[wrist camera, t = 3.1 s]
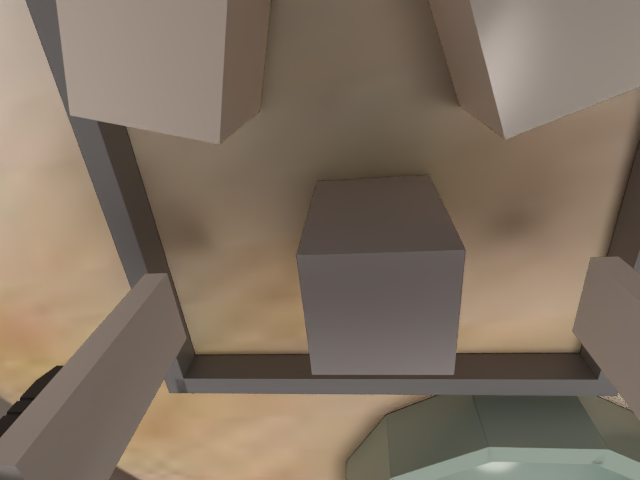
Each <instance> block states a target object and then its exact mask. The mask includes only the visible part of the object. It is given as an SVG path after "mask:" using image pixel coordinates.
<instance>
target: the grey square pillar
mask: <svg viewBox="0 0 640 480" xmlns="http://www.w3.org/2000/svg"><path fill="white" fill-rule="evenodd" d="M465 251H466V250H465V247H464V245H463V243H462V241H461V239H460V237H459V235H458V233H457V231H456V229H455V227H454V225H453V223H452V221H451V219H450V217H449V215H448V213H447V211H446V209H445V206H444V204H443V202H442V200H441V198H440V196H439V194H438V192H437V190H436V188H435V186H434V184H433V182H432V180H431V178H430V176H429V175H417V176H399V177H381V178H363V179H345V180H328V181H317V182H316V186H315V189H314V193H313V197H312V200H311V204H310V208H309V211H308V215H307V219H306V222H305V226H304V229H303V233H302V237H301V240H300V244H299V248H298V251H297V255H296V257H297V265H298V272H299V280H300V287H301V295H302V302H303V310H304V317H305V325H306V332H307V340H308V348H309V355H310V363H311V370H312V375H454V370H455V359H456V349H457V338H458V327H459V316H460V305H461V295H462V284H463V273H464V262H465Z"/></svg>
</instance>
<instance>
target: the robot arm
mask: <svg viewBox="0 0 640 480" xmlns="http://www.w3.org/2000/svg"><path fill="white" fill-rule="evenodd" d="M572 331H573V333H574V334H575V335H576V337H577V338H578V339H579V341H580V342H581V343H582V345H583V346H584V347H585V349H586V350H587V351H588V353H589V354H590V355H591V357H592V358H593V359H594V361H595V362H596V363H597V365H598V366H599V367H600V369H601V370H602V371H603V373H604V374H605V375H606V377H607V378H608V379H609V381H610V382H611V383H612V385H613V386H614V387H615V388H616V390H617V391H618V392H619V394H620V395H621V396H622V398H623V399H624V400H625V402H626V403H627V404H628V406H629V407H630V408H631V410H632V411H633V412H634V414H635V415H636V416H637V418H638V419H639V420H640V274H639V273H638V272H637V271H636V270H634V269H633V268H632V267H631V266H630V265H628V264H627V263H626V262H625V261H623V260H622V259H621V258H620V257H619V256H616V257H591V258H590V262H589V266H588V270H587V274H586V278H585V282H584V286H583V290H582V294H581V298H580V302H579V306H578V310H577V314H576V318H575V322H574V326H573V330H572ZM186 339H187V338H186V335H185V331H184V328H183V325H182V321H181V318H180V315H179V311H178V308H177V305H176V301H175V298H174V295H173V291H172V288H171V285H170V281H169V278H168V275H167V273H155V274H144V276H143V277H142V278H141V279H140V280H139V281H138V282H137V284H136V285H135V286H134V287H133V288H132V289H131V290H130V291H129V293H128V294H127V295H126V296H125V297H124V298H123V299H122V301H121V302H120V303H119V304H118V305H117V306H116V307H115V308H114V310H113V311H112V312H111V313H110V314H109V315H108V316H107V318H106V319H105V320H104V321H103V322H102V323H101V324H100V325H99V327H98V328H97V329H96V330H95V331H94V332H93V333H92V335H91V336H90V337H89V338H88V339H87V340H86V341H85V342H84V344H83V345H82V346H81V347H80V348H79V349H78V350H77V352H76V353H75V354H74V355H73V356H72V357H71V358H70V359H69V361H68V362H67V363H66V364H65V365H64V366H56V367H54V368H53V369H52V370H50V371H49V372H47V373H46V374H45V375H43V376H42V377H40V378H39V379H38V380H36V381H35V382H34V383H33V384H32V385H31V387H30V388H29V389H28V390H27V391H26V392H25V393H24V394H23V395H22V396H21V397H20V401H17V402H16V403H15V404H14V405H13V406H12V407H11V408H10V409H9V410H8V411H7V415H6V416H3V417H2V418H1V419H0V480H109V478H110V476H111V474H112V472H113V471H114V469H115V467H116V465H117V463H118V462H119V460H120V458H121V456H122V454H123V453H124V451H125V449H126V447H127V445H128V444H129V442H130V440H131V438H132V436H133V435H134V433H135V431H136V429H137V427H138V425H139V424H140V422H141V420H142V418H143V416H144V415H145V413H146V411H147V409H148V407H149V406H150V404H151V402H152V400H153V398H154V397H155V395H156V393H157V391H158V389H159V388H160V386H161V384H162V382H163V380H164V378H165V377H166V375H167V373H168V371H169V369H170V368H171V366H172V364H173V362H174V360H175V359H176V357H177V355H178V353H179V351H180V350H181V348H182V346H183V344H184V342H185V341H186Z"/></svg>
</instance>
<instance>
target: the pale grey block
mask: <svg viewBox="0 0 640 480" xmlns="http://www.w3.org/2000/svg"><path fill="white" fill-rule="evenodd" d="M429 4H430V7H431V11H432V14H433V17H434V21H435V24H436V28H437V31H438V34H439V38H440V41H441V44H442V48H443V51H444V55H445V58H446V61H447V65H448V68H449V71H450V75H451V78H452V82H453V85H454V88H455V92H456V95H457V99H458V102H459V105H460V107H461V108H463V109H464V110H465V111H467V112H468V113H469V114H471V115H472V116H473V117H475V118H476V119H478V120H479V121H480V122H482V123H483V124H484V125H486V126H487V127H489V128H490V129H491V130H493V131H494V132H495V133H497V134H498V135H500V136H501V137H502V138H504V139H505V140H506V139H509V138H511V137H514V136H516V135H519V134H521V133H524V132H527V131H529V130H532V129H534V128H537V127H539V126H542V125H544V124H547V123H550V122H552V121H555V120H557V119H560V118H562V117H565V116H567V115H570V114H572V113H575V112H578V111H580V110H583V109H585V108H588V107H590V106H593V105H595V104H598V103H600V102H603V101H606V100H608V99H611V98H613V97H616V96H618V95H621V94H623V93H626V92H628V91H631V90H634V89H636V88H639V87H640V0H429Z"/></svg>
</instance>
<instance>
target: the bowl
mask: <svg viewBox="0 0 640 480" xmlns="http://www.w3.org/2000/svg"><path fill="white" fill-rule="evenodd" d="M346 480H640V420H639V419H638V418H637V416H636V415H635V414H634V412H632V411H630V410H627V409H625V408H623V407H620V406H618V405H616V404H614V403H611V402H609V401H607V400H605V399H602V398H600V397H598V396H539V395H437V396H435V397H432V398H429V399H427V400H424V401H422V402H419V403H416V404H414V405H411V406H408V407H406V408H403V409H401V410H398V411H395V412H393V413H390V414H387V415H386V416H385V417H384V418H383V419H382V421H381V422H380V423H379V424H378V425H377V426H376V428H375V429H374V430H373V431H372V432H371V433H370V435H369V436H368V437H367V438H366V439H365V441H364V442H363V443H362V444H361V445H360V446H359V448H358V449H357V450H356V451H355V452H354V454H353V455H352V456H351V457H350V458H349V459H348V461H347V465H346Z"/></svg>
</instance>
